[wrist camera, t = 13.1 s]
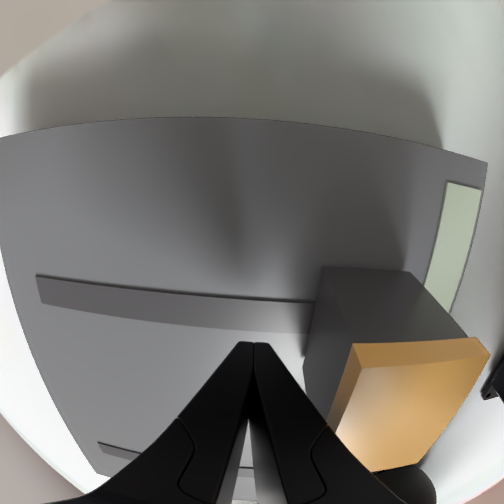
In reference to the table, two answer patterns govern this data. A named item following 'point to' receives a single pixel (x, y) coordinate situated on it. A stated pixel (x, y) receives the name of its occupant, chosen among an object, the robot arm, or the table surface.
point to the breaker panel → (206, 253)
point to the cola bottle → (409, 485)
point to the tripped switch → (386, 364)
